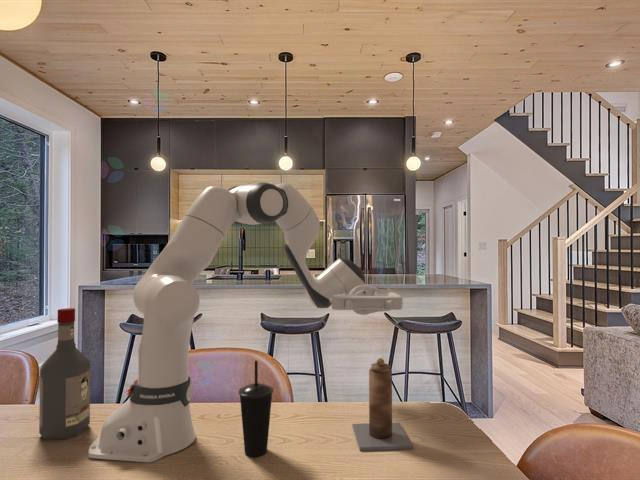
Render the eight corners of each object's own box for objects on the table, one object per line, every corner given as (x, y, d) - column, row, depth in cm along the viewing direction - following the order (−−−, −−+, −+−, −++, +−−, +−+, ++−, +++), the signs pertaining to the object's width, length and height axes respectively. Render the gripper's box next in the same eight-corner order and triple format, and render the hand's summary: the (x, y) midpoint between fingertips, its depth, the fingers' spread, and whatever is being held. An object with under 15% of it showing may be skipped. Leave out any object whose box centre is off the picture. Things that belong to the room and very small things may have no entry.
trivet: (359, 450, 90) (359, 447, 90) (352, 427, 102) (352, 423, 102) (413, 449, 91) (412, 445, 91) (399, 425, 103) (399, 422, 103)
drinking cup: (266, 462, 85) (266, 367, 85) (232, 458, 87) (233, 364, 87) (277, 445, 93) (277, 357, 93) (246, 442, 94) (246, 355, 94)
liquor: (33, 440, 95) (35, 312, 96) (57, 423, 104) (58, 306, 105) (73, 439, 95) (74, 312, 96) (93, 423, 105) (94, 306, 105)
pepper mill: (371, 439, 93) (371, 361, 94) (367, 429, 99) (367, 355, 99) (394, 438, 94) (394, 361, 94) (389, 428, 99) (388, 355, 100)
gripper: (328, 289, 122) (332, 294, 108) (395, 289, 123) (407, 294, 110) (328, 310, 122) (332, 318, 108) (395, 309, 123) (407, 317, 109)
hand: (371, 306), depth 109 cm, fingers open, 8 cm apart
